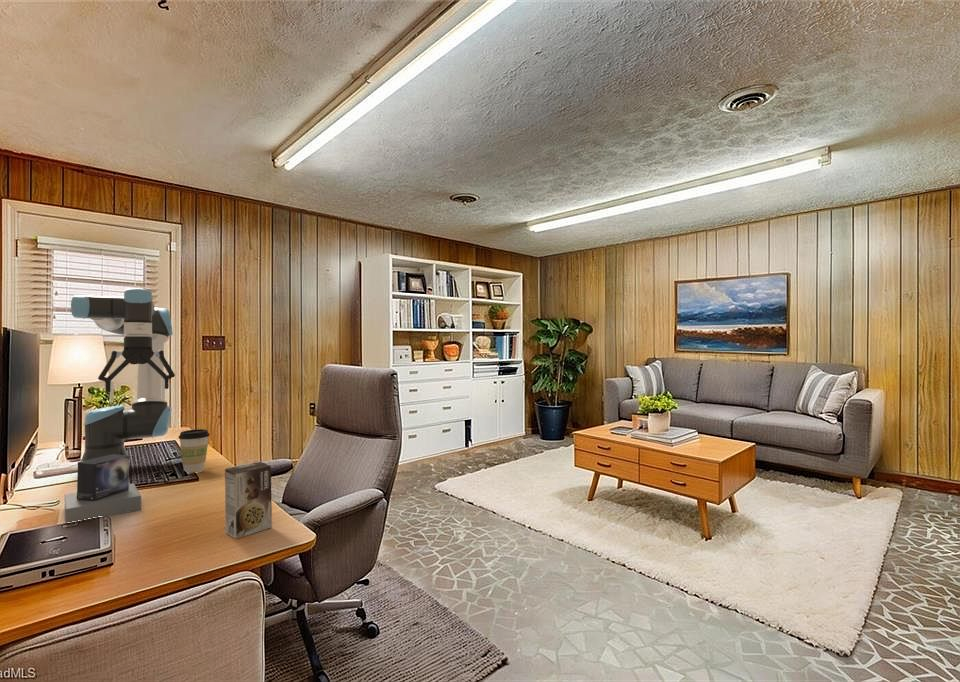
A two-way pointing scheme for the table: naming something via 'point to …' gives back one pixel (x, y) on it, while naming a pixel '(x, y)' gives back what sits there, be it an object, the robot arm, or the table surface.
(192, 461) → the coffee cup
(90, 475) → the small box
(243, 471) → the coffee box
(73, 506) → the plinth
